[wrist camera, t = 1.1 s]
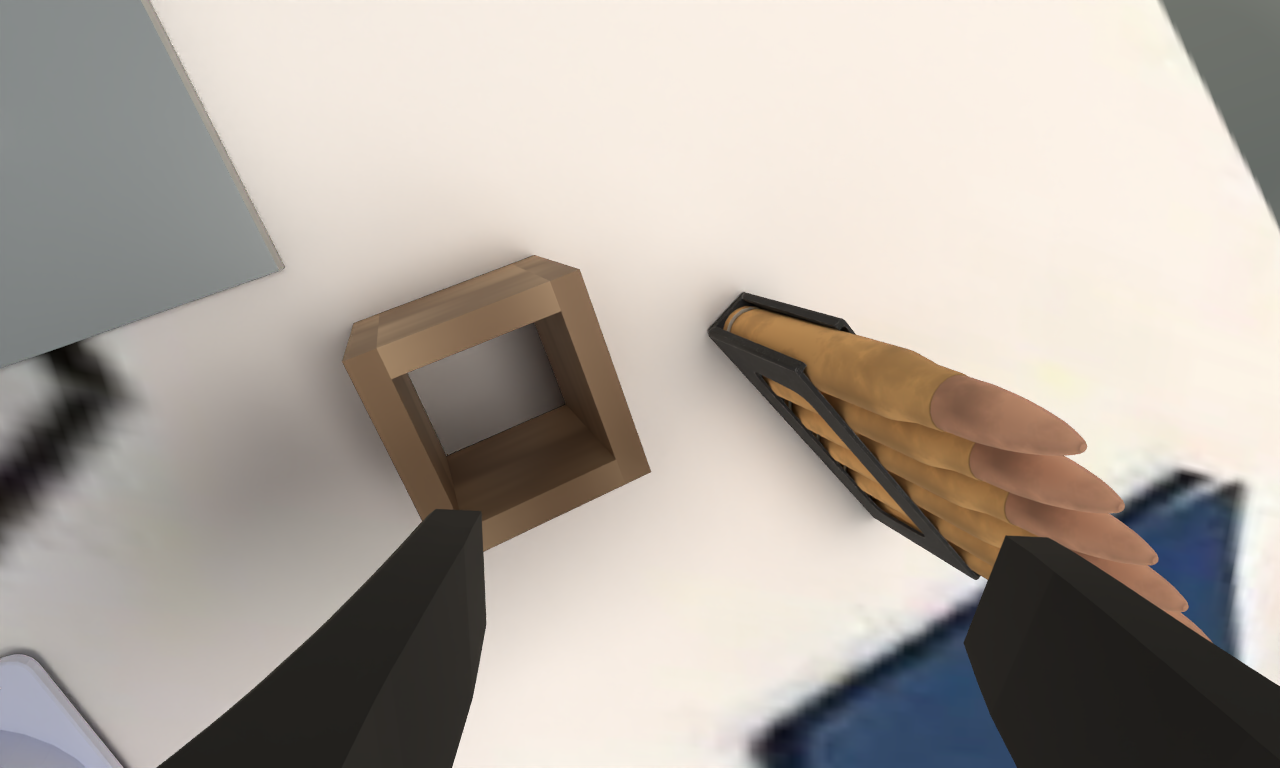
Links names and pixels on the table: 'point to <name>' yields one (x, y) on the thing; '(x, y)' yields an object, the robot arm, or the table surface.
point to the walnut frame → (523, 455)
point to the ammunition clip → (935, 446)
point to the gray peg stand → (108, 178)
